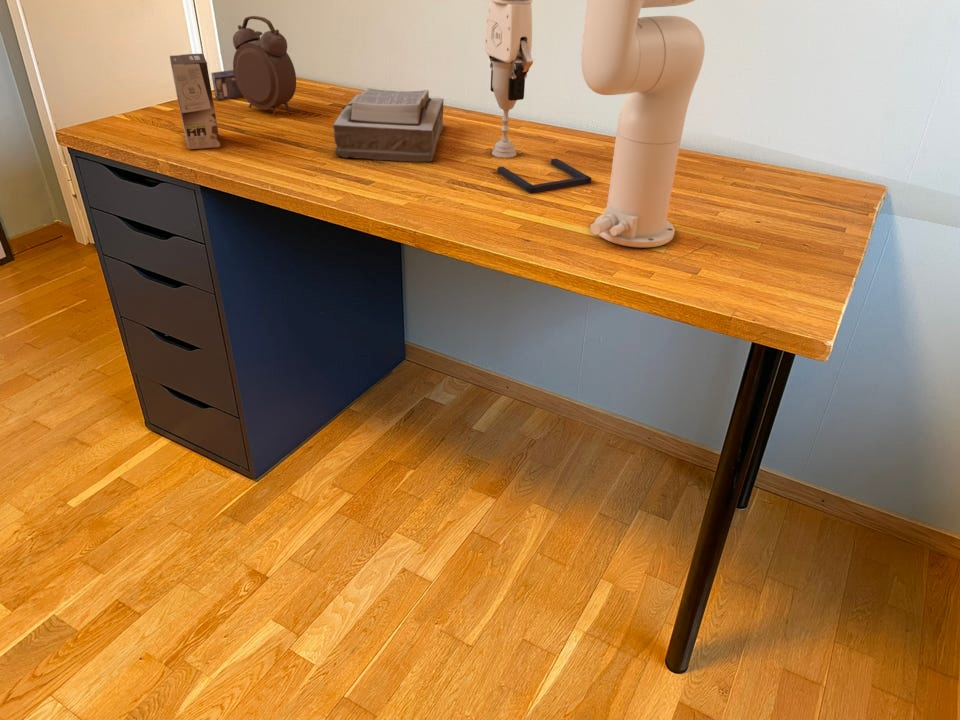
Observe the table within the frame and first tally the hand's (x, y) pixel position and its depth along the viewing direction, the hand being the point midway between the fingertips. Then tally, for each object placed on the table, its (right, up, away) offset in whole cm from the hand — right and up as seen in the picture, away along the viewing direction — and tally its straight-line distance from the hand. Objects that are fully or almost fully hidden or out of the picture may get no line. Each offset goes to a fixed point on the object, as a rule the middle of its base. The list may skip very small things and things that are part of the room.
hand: (506, 94), depth 142 cm
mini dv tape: (-65, +12, +37) cm, 76 cm away
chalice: (0, -10, +7) cm, 12 cm away
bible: (-24, -6, +11) cm, 27 cm away
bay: (+7, -17, -5) cm, 19 cm away
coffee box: (-62, -7, +7) cm, 62 cm away
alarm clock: (-54, +6, +28) cm, 61 cm away
